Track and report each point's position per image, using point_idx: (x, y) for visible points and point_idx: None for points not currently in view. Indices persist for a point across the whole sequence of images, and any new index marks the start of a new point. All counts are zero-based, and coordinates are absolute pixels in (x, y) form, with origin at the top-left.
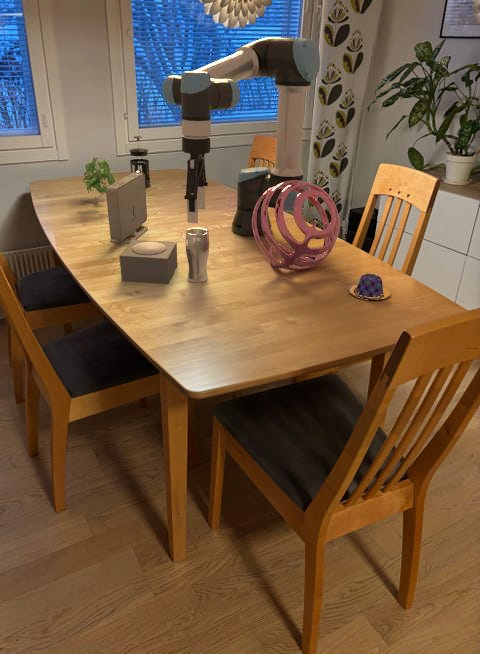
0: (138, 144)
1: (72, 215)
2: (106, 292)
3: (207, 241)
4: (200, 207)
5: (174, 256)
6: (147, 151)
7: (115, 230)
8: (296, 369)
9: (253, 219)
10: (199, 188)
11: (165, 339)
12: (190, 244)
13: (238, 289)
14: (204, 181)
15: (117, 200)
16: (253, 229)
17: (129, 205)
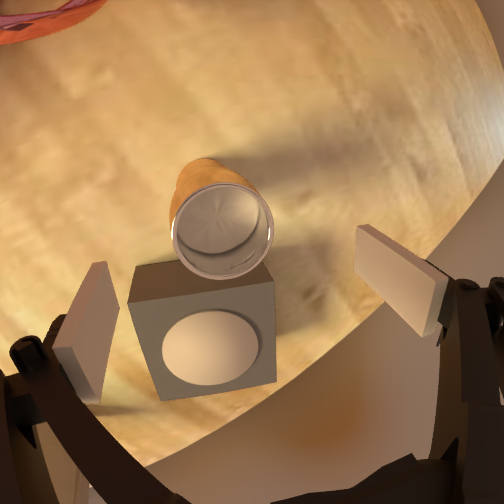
0: None
1: None
2: (315, 340)
3: (234, 175)
4: (110, 289)
5: (168, 281)
6: None
7: None
8: (478, 8)
9: (16, 28)
10: (89, 372)
11: (454, 183)
12: (260, 233)
13: (248, 64)
14: (49, 384)
15: (76, 487)
16: (49, 28)
17: None
